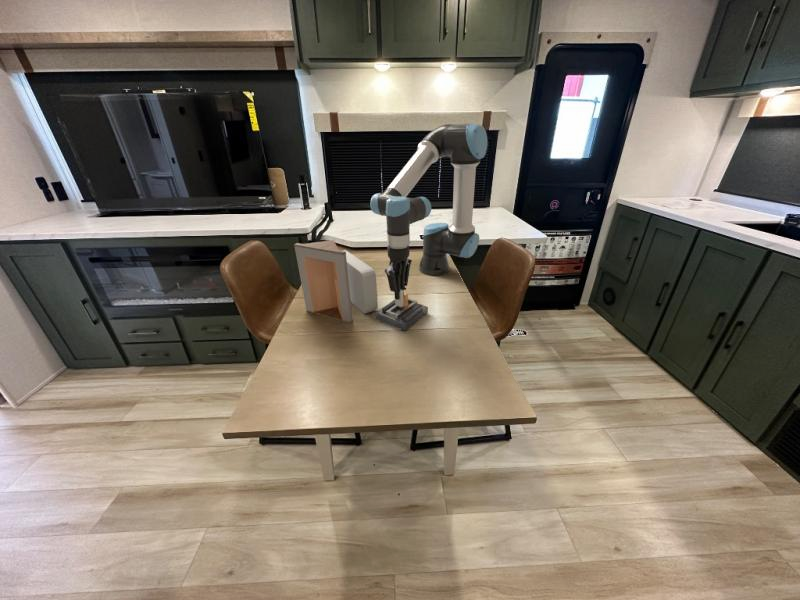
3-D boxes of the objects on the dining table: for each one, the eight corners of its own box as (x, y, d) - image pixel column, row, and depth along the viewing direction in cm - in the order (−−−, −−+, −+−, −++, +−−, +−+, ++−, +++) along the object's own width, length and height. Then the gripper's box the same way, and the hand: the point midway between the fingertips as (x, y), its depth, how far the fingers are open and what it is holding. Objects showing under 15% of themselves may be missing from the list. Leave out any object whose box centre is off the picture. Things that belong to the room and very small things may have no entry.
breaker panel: (399, 303, 130) (398, 293, 127) (427, 313, 122) (428, 303, 120) (375, 319, 119) (375, 309, 117) (405, 331, 112) (405, 320, 110)
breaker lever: (403, 305, 122) (403, 290, 119) (409, 307, 120) (409, 293, 117) (398, 308, 120) (398, 294, 117) (404, 310, 118) (404, 296, 115)
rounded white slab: (383, 310, 125) (381, 269, 116) (366, 316, 121) (363, 274, 112) (351, 284, 146) (348, 247, 137) (336, 288, 142) (331, 251, 133)
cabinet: (306, 311, 125) (294, 244, 111) (321, 300, 132) (311, 236, 119) (350, 323, 117) (343, 252, 103) (363, 311, 124) (358, 244, 111)
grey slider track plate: (399, 299, 126) (399, 296, 125) (424, 308, 120) (424, 305, 119) (382, 311, 118) (382, 308, 118) (407, 321, 112) (407, 318, 111)
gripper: (400, 238, 112) (401, 295, 123) (377, 248, 103) (380, 309, 114) (418, 242, 108) (417, 301, 119) (395, 253, 99) (396, 316, 110)
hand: (399, 305), depth 117 cm, fingers closed
